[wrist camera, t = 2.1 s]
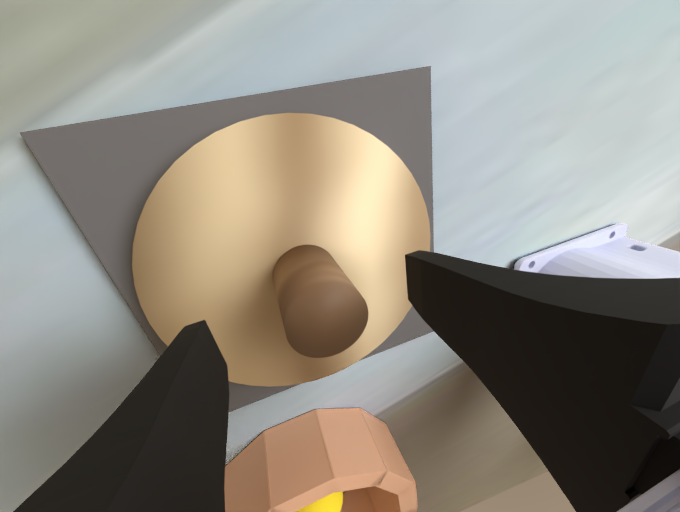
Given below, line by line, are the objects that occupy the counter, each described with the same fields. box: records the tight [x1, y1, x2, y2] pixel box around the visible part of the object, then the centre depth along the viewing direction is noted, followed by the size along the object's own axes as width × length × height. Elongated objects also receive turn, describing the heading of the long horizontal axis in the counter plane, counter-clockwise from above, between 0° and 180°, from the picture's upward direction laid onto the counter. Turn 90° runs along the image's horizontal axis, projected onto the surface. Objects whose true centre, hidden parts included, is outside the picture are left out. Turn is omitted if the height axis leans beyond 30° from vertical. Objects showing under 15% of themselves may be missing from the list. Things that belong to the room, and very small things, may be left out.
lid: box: [132, 113, 430, 387], centre depth 11 cm, size 13×13×4 cm
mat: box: [20, 66, 434, 412], centre depth 13 cm, size 14×14×1 cm
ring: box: [224, 408, 418, 512], centre depth 18 cm, size 12×12×4 cm
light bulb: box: [295, 491, 343, 512], centre depth 19 cm, size 3×6×4 cm, turn 97°
